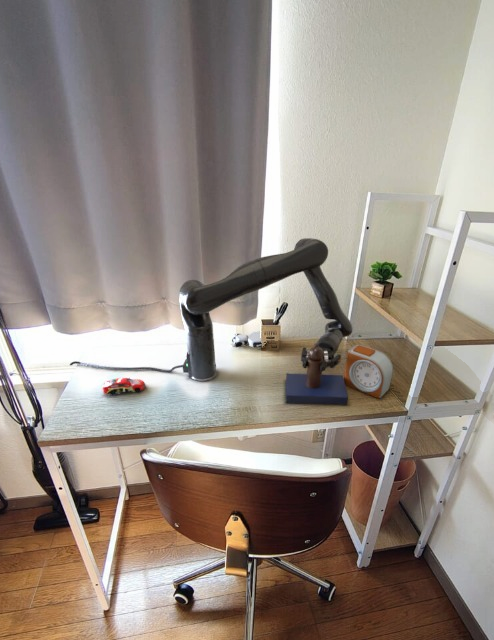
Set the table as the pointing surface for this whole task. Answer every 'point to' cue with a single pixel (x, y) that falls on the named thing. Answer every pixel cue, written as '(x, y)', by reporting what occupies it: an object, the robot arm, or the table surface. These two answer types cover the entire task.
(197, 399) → the table surface
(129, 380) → the race car
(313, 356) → the pepper mill
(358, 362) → the alarm clock
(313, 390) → the book
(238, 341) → the robot toy
